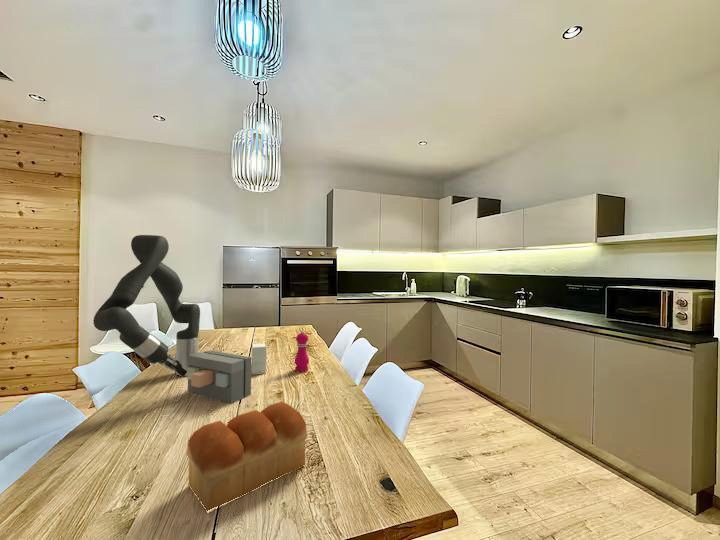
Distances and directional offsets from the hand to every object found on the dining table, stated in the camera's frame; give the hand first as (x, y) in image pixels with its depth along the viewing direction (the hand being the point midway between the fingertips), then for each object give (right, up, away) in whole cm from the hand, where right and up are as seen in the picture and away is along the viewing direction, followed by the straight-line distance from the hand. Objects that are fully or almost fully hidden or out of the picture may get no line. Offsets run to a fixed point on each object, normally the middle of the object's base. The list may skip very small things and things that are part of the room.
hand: (184, 373), depth 126 cm
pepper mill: (+39, -10, +37) cm, 55 cm away
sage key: (+3, -3, +6) cm, 7 cm away
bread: (+41, -10, -47) cm, 63 cm away
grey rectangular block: (+17, -3, -1) cm, 18 cm away
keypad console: (+11, -10, +5) cm, 16 cm away
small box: (+18, -10, +34) cm, 40 cm away
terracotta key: (+8, -3, -1) cm, 9 cm away
